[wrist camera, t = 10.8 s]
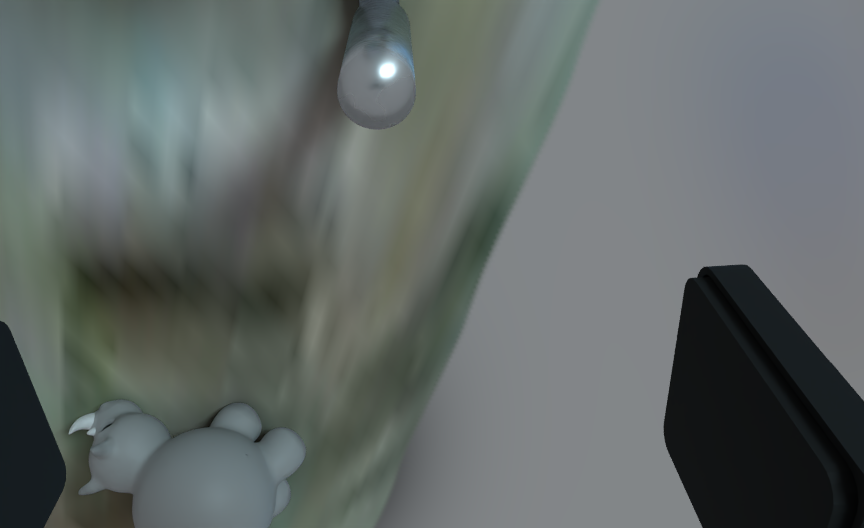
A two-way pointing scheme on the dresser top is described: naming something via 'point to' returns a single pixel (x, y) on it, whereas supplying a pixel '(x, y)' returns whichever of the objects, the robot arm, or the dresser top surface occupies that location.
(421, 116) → the dresser top surface
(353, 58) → the gray frame with handle
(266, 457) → the round bodied animal figurine
